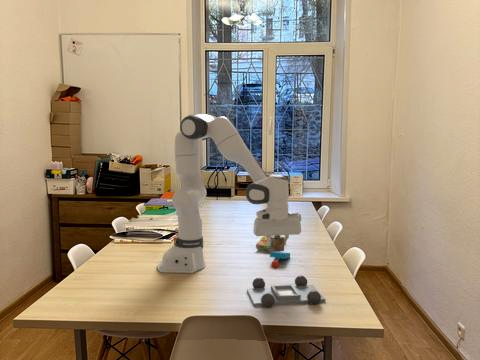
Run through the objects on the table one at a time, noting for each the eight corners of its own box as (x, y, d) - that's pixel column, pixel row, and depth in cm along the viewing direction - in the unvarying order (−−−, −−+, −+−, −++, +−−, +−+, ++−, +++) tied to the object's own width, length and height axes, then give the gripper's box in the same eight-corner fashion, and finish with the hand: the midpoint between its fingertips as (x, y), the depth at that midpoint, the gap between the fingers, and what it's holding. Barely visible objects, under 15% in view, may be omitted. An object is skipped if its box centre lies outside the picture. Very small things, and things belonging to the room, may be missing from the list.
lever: (275, 265, 217) (266, 266, 200) (277, 251, 218) (268, 251, 201) (289, 267, 214) (281, 268, 198) (290, 253, 215) (282, 253, 198)
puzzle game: (255, 243, 224) (264, 233, 243) (255, 251, 224) (264, 241, 243) (277, 245, 220) (284, 235, 239) (277, 253, 221) (284, 243, 240)
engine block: (273, 251, 176) (274, 237, 176) (270, 247, 182) (270, 234, 181) (284, 250, 177) (284, 237, 176) (280, 246, 183) (280, 233, 182)
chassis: (254, 308, 156) (255, 295, 155) (246, 289, 173) (246, 278, 172) (327, 303, 161) (327, 291, 160) (311, 286, 178) (312, 274, 177)
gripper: (299, 210, 182) (298, 241, 184) (252, 212, 179) (252, 244, 181) (303, 213, 176) (302, 246, 178) (255, 215, 173) (255, 248, 175)
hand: (277, 245), depth 179 cm, fingers closed on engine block, 4 cm apart
